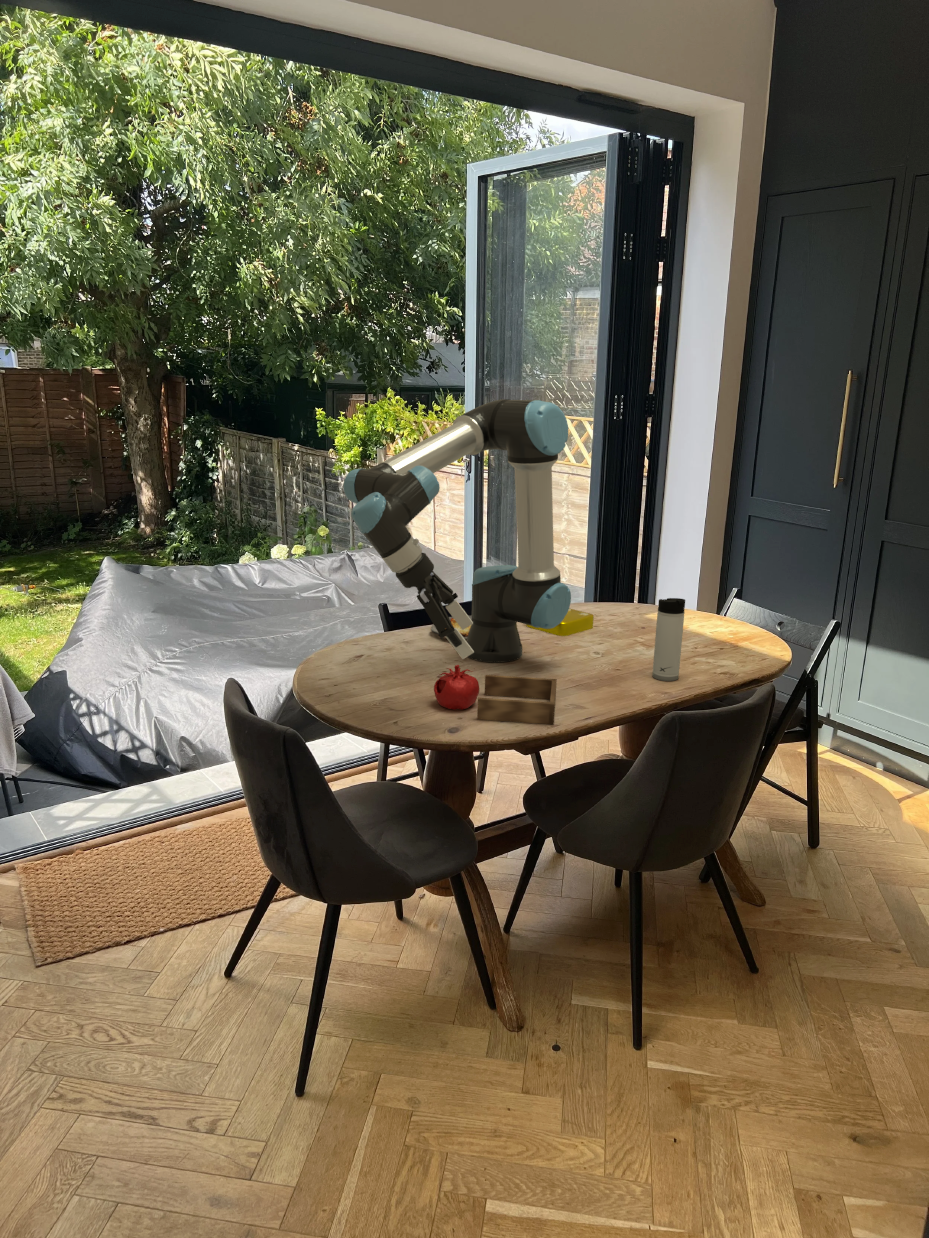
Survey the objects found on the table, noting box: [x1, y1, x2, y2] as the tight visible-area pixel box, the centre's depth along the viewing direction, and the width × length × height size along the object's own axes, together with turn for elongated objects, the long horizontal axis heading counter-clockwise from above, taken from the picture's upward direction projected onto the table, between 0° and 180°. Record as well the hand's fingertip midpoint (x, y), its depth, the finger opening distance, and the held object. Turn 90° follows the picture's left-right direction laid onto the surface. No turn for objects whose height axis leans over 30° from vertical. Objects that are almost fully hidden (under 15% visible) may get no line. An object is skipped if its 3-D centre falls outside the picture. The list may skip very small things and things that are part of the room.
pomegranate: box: [433, 664, 480, 711], centre depth 193 cm, size 10×10×9 cm
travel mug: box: [651, 597, 686, 682], centre depth 212 cm, size 6×7×20 cm
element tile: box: [525, 607, 595, 637], centre depth 257 cm, size 15×15×5 cm
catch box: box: [476, 674, 557, 725], centre depth 192 cm, size 16×16×4 cm
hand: (468, 640), depth 186 cm, fingers open, 13 cm apart
